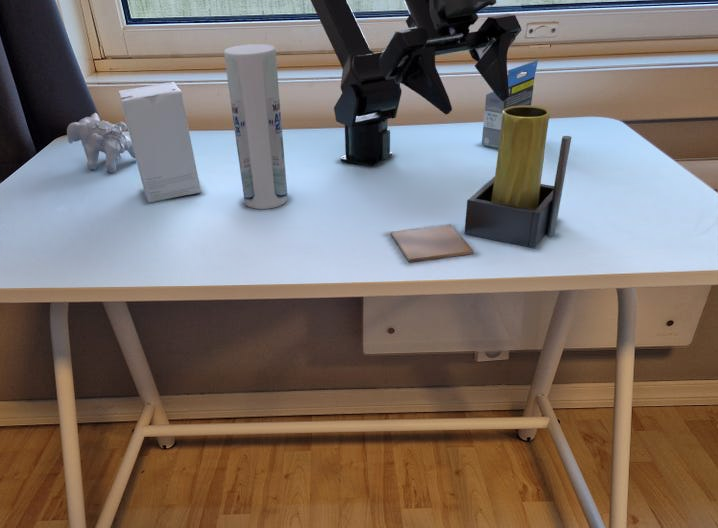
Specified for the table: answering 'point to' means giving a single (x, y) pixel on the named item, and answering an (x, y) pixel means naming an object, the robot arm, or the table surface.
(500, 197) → the vase
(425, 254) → the cork pad
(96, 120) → the elephant statuette
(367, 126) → the robot arm
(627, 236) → the table surface
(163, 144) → the cosmetic box
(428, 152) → the table surface
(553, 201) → the holder
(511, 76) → the tape cartridge
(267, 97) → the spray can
